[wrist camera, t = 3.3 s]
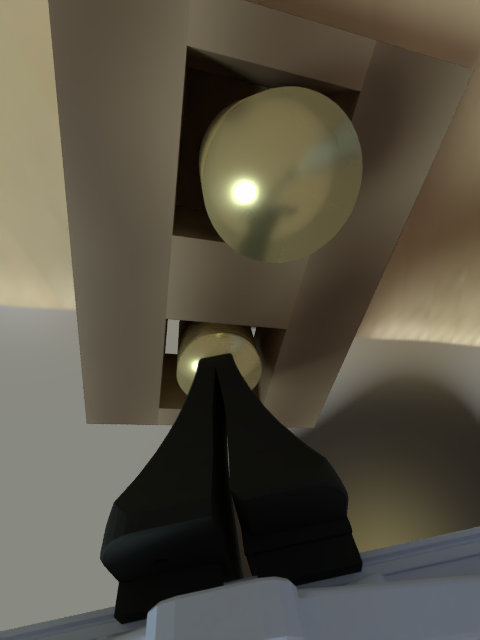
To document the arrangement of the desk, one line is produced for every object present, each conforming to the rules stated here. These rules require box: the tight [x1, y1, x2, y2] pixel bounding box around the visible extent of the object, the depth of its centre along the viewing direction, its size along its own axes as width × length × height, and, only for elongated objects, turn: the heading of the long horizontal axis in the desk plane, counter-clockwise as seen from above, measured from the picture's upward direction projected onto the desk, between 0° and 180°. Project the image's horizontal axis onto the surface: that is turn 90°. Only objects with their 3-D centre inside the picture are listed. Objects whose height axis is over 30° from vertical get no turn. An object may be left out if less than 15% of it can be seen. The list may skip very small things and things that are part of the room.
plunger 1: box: [177, 320, 262, 395], centre depth 15 cm, size 4×4×4 cm
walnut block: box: [48, 0, 474, 428], centre depth 13 cm, size 11×15×4 cm
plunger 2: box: [199, 86, 363, 263], centre depth 9 cm, size 4×4×4 cm
